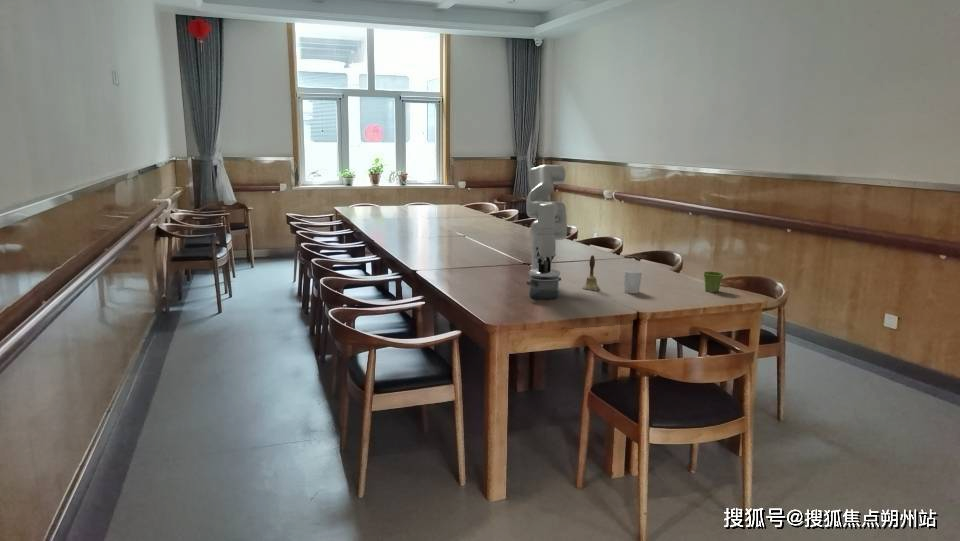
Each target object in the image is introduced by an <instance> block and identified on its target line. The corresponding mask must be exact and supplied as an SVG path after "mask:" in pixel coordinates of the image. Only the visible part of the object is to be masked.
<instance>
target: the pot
mask: <svg viewBox="0 0 960 541" xmlns="http://www.w3.org/2000/svg"><path fill="white" fill-rule="evenodd" d="M529 280H530V281H529ZM529 280H528V281H526V285H529V296H528V297H529V298H531V299H534V300H539V301H540V300H542V301H552V300H556V299H557V298H559V284H560V283H559V282H561V281H562V277H560V276H556V277H536V276H532V275H529Z"/></svg>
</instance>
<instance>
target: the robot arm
mask: <svg viewBox="0 0 960 541" xmlns="http://www.w3.org/2000/svg"><path fill="white" fill-rule="evenodd" d="M566 175H567V174H566V169H565V166H563V165H561V164H541V165H539V166H536V167H531V168H530V169H529V171H528V175H527V178H528V185H529V188H530V191H529V192H528V194H527V196H526V202H525V203H526V216H528V218H531V219H536V220H534V221H532V223H531V224H530V234H531V235H530V236H531V269H530V270H532V269H539V270H538V271H539V272H541V273H544V272H545V264H544V260H547V261H548V272H550V271H551V269H552V263H553V259H554V258H555V257H556V256H557V253H556V244H557V243H556V241H562V240H564V239H566V238H567V236H568V224H567V223H568V220H567V218H568V217H567V208H566V205H565V203H564V202H562V201H551V195H552V194H553V193H554V189H555V188H554V187H555V186H554V185H561V184H563V183H564V182H565V180H566ZM528 281H530V279H529V280H528Z"/></svg>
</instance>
